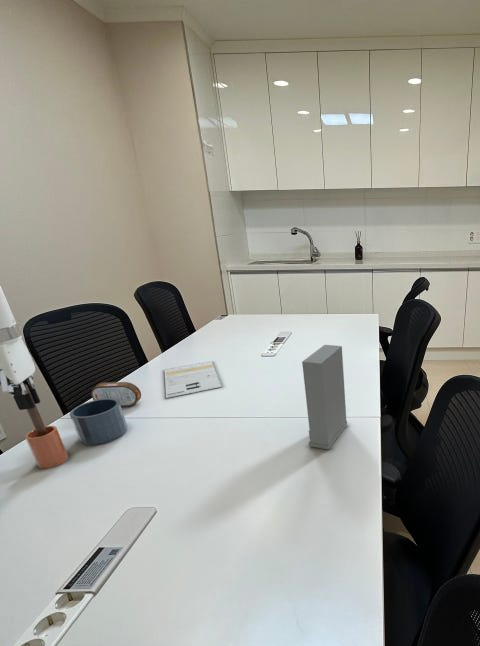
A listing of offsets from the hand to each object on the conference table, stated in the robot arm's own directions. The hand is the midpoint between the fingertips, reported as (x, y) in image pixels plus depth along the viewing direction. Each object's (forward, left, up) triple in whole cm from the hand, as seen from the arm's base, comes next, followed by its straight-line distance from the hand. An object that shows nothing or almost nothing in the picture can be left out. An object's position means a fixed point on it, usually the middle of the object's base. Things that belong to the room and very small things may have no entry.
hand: (30, 405), depth 96 cm
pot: (+9, +11, -17) cm, 22 cm away
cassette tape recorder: (+72, -12, -17) cm, 75 cm away
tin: (+8, +31, -17) cm, 36 cm away
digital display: (+29, +48, -17) cm, 58 cm away
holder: (0, 0, -17) cm, 17 cm away
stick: (0, 0, -11) cm, 11 cm away
